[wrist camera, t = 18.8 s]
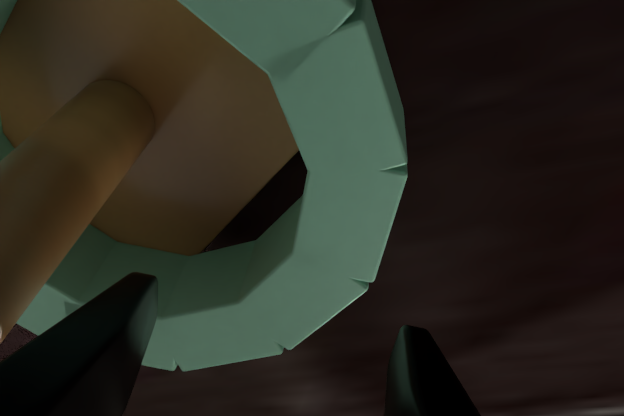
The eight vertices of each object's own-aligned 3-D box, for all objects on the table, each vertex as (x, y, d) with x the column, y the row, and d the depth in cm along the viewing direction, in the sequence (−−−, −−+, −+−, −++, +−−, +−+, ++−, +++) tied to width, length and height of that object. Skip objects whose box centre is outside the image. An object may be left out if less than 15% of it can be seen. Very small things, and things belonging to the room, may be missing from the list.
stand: (177, 266, 18) (61, 517, 12) (-61, 111, 16) (-380, 313, 9) (342, 91, 14) (310, 317, 8) (59, -149, 12) (-340, -122, 5)
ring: (216, 357, 19) (195, 425, 17) (-143, 137, 15) (-228, 187, 13) (505, 111, 13) (529, 166, 11) (34, -332, 10) (-65, -379, 7)
